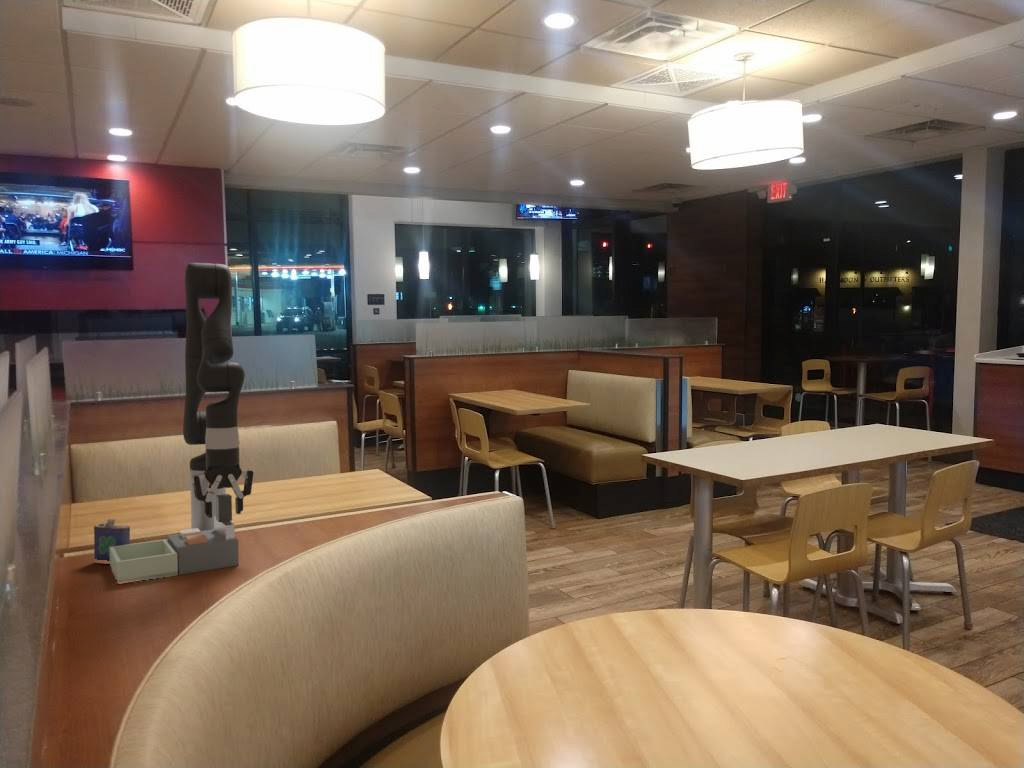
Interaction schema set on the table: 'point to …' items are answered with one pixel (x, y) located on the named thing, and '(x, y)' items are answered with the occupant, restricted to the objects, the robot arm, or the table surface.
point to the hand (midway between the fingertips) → (223, 515)
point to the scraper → (224, 517)
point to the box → (143, 561)
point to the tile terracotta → (196, 539)
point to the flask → (109, 538)
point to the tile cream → (189, 532)
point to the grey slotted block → (204, 553)
